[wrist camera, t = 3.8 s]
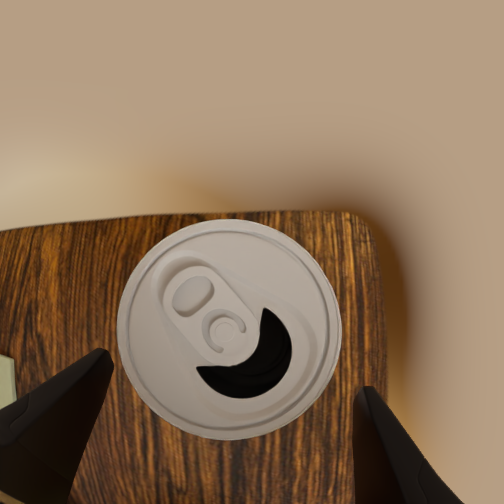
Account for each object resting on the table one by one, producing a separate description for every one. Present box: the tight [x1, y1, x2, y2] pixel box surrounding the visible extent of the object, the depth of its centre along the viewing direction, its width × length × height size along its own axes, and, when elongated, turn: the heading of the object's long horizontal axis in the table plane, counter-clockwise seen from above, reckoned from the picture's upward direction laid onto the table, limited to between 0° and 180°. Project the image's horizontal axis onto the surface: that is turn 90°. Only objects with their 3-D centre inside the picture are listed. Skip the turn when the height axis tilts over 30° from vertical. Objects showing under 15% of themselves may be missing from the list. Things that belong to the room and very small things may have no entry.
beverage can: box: [117, 219, 342, 440], centre depth 12 cm, size 6×6×12 cm
